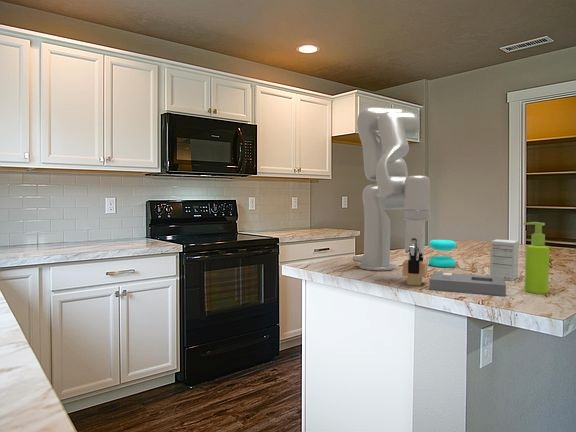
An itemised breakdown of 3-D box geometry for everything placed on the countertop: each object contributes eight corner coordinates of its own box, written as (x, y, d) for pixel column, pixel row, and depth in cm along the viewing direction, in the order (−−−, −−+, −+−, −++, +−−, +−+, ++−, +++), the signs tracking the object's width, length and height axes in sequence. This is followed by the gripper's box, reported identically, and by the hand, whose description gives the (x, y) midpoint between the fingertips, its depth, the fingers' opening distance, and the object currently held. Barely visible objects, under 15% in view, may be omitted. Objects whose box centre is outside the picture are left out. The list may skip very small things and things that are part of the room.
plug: (402, 284, 136) (402, 262, 135) (405, 281, 142) (405, 259, 141) (424, 286, 133) (425, 264, 133) (426, 282, 139) (427, 261, 139)
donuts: (424, 240, 174) (436, 238, 181) (424, 265, 174) (435, 263, 181) (449, 242, 166) (460, 240, 174) (448, 268, 167) (459, 266, 174)
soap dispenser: (524, 288, 133) (527, 221, 132) (550, 291, 128) (553, 222, 127) (517, 290, 128) (520, 222, 128) (544, 294, 124) (547, 223, 123)
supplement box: (495, 275, 154) (496, 239, 154) (518, 277, 150) (519, 240, 149) (488, 278, 149) (490, 240, 148) (513, 280, 144) (514, 242, 143)
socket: (429, 289, 129) (429, 276, 129) (433, 281, 142) (434, 269, 142) (505, 296, 121) (506, 282, 121) (503, 286, 134) (503, 274, 134)
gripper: (408, 215, 146) (407, 267, 146) (399, 216, 130) (398, 274, 130) (432, 215, 143) (431, 268, 143) (426, 216, 127) (425, 276, 127)
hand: (415, 271), depth 137 cm, fingers open, 9 cm apart
